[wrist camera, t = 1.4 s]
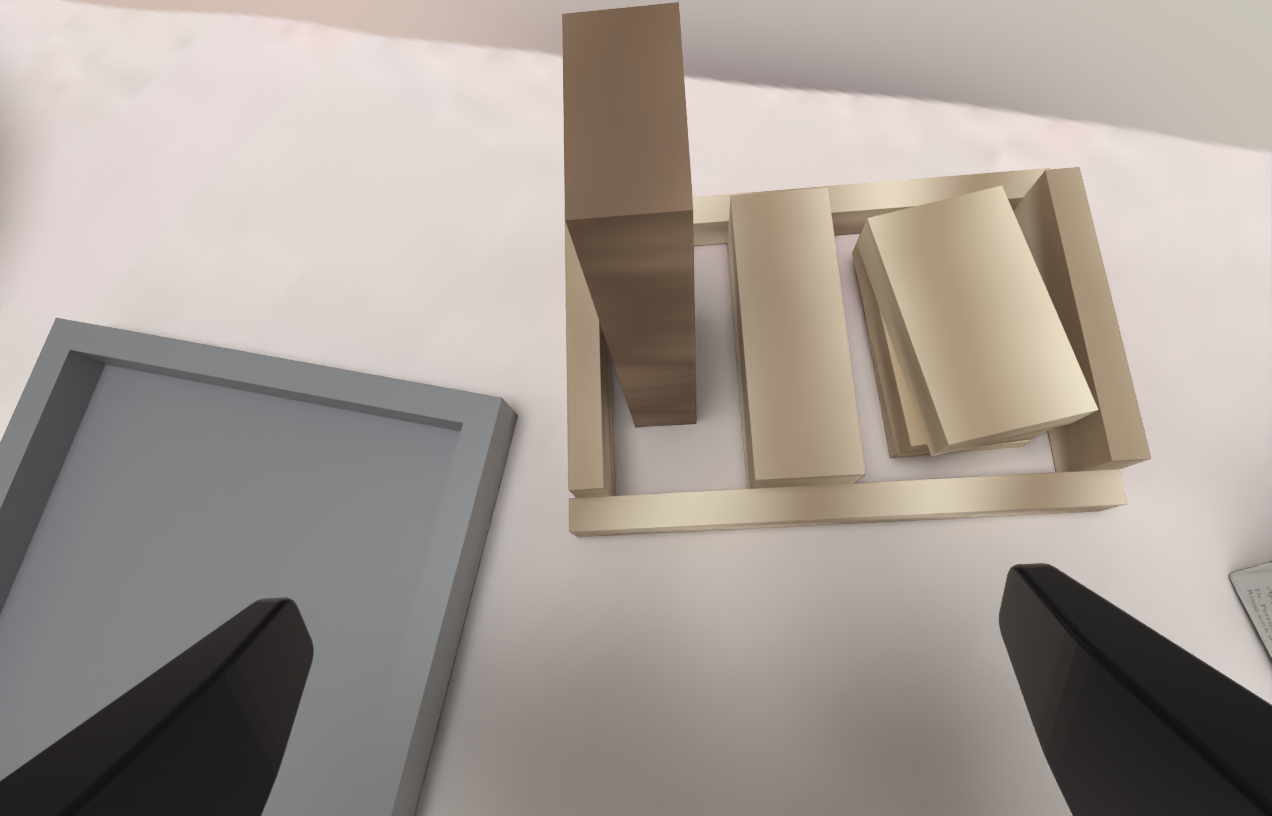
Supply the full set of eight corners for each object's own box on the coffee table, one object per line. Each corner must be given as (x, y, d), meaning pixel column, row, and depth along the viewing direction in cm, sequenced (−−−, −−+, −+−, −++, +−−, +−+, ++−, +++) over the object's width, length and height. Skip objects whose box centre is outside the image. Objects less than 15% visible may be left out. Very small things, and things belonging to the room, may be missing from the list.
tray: (517, 414, 24) (502, 398, 22) (377, 956, 20) (343, 992, 18) (103, 339, 26) (56, 317, 24) (-99, 813, 22) (-175, 832, 20)
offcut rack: (1028, 194, 25) (1072, 138, 22) (1098, 511, 22) (1160, 495, 19) (572, 230, 26) (556, 182, 23) (577, 536, 23) (560, 525, 20)
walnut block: (688, 311, 25) (678, 2, 12) (696, 423, 23) (693, 209, 11) (631, 315, 25) (562, 14, 12) (635, 427, 24) (564, 220, 11)
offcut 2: (982, 212, 22) (1002, 185, 21) (1070, 424, 20) (1098, 409, 19) (856, 243, 22) (867, 218, 21) (931, 456, 20) (948, 445, 19)
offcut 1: (973, 236, 24) (990, 211, 22) (1030, 439, 22) (1053, 427, 20) (851, 253, 24) (861, 230, 22) (897, 456, 22) (911, 446, 20)
